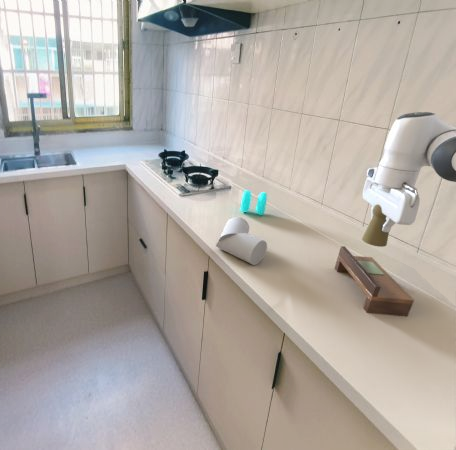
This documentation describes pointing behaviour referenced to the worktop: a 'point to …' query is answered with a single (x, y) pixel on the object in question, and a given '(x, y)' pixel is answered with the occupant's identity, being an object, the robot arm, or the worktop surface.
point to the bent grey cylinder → (242, 241)
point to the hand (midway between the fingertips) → (379, 226)
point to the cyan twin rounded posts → (247, 199)
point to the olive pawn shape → (376, 229)
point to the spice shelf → (375, 284)
